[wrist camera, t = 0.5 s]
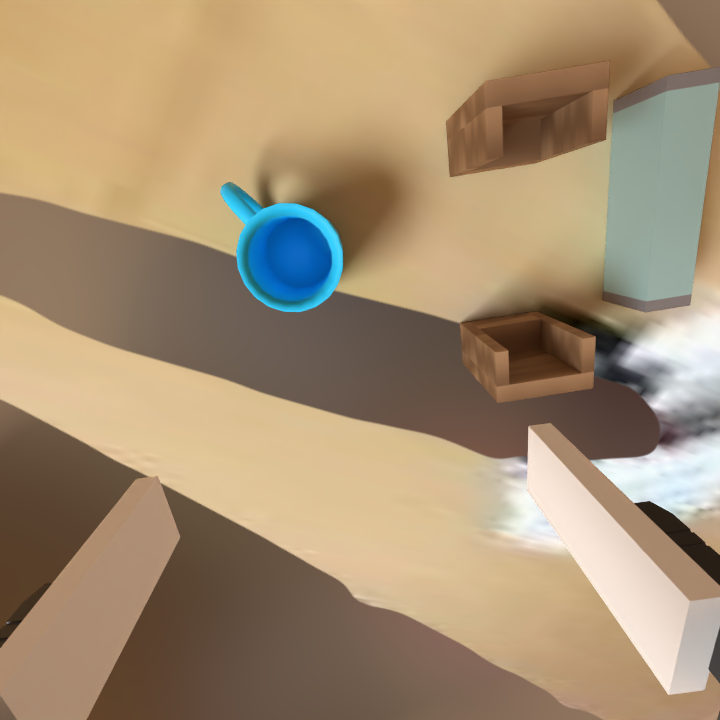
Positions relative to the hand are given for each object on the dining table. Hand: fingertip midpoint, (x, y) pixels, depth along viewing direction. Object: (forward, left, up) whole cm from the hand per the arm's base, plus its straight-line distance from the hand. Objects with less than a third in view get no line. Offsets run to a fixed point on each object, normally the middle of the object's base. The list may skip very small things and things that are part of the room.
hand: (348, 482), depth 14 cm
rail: (-6, +29, -27) cm, 40 cm away
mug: (-8, -4, -28) cm, 29 cm away
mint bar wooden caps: (-4, +16, -27) cm, 32 cm away
